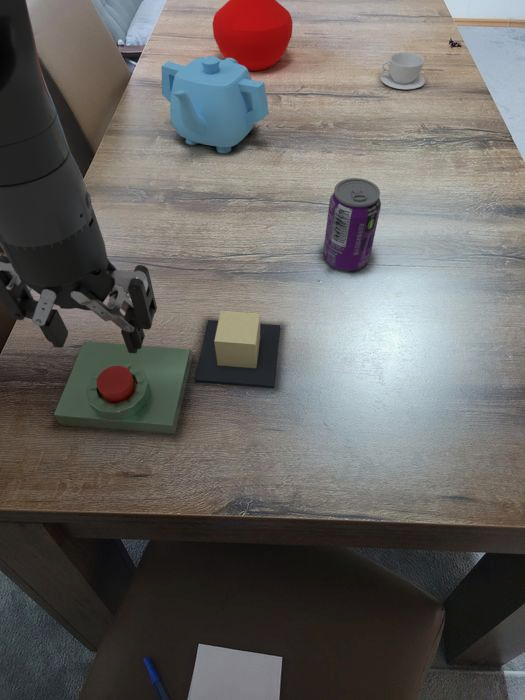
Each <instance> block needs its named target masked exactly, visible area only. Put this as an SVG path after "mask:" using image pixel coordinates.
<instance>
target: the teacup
mask: <svg viewBox="0 0 525 700" xmlns="http://www.w3.org/2000/svg"><path fill="white" fill-rule="evenodd" d="M424 63H425V59H424V57H423V56H421V55H419V54H417V53H414V52H407V51H401V52H396V53H393V54H392V55H390V57H389V60H386V61H384V62H383V63H382V67H381V70H382V72H383V73H382V74H381V75H380V81H381V82H382V83H383V84H384V85H386V86H387V87H390V88H393V89H397V90H415V89H418V88H421V87H422V86H424V85H425V83H426V79H425V77H424V76H423V75H422V74H421V71H422V68H423V65H424ZM385 65H387V66H388V70H387V69H386V68H385Z"/></svg>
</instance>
